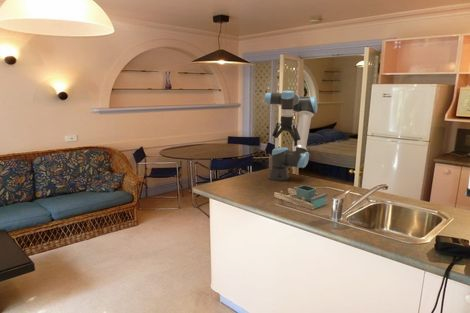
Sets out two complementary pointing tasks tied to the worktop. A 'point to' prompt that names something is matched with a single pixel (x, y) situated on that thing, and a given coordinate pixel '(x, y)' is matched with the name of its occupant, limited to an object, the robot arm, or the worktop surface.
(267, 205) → the worktop surface
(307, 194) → the flower pot
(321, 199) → the teal flat block
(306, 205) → the guide rails
